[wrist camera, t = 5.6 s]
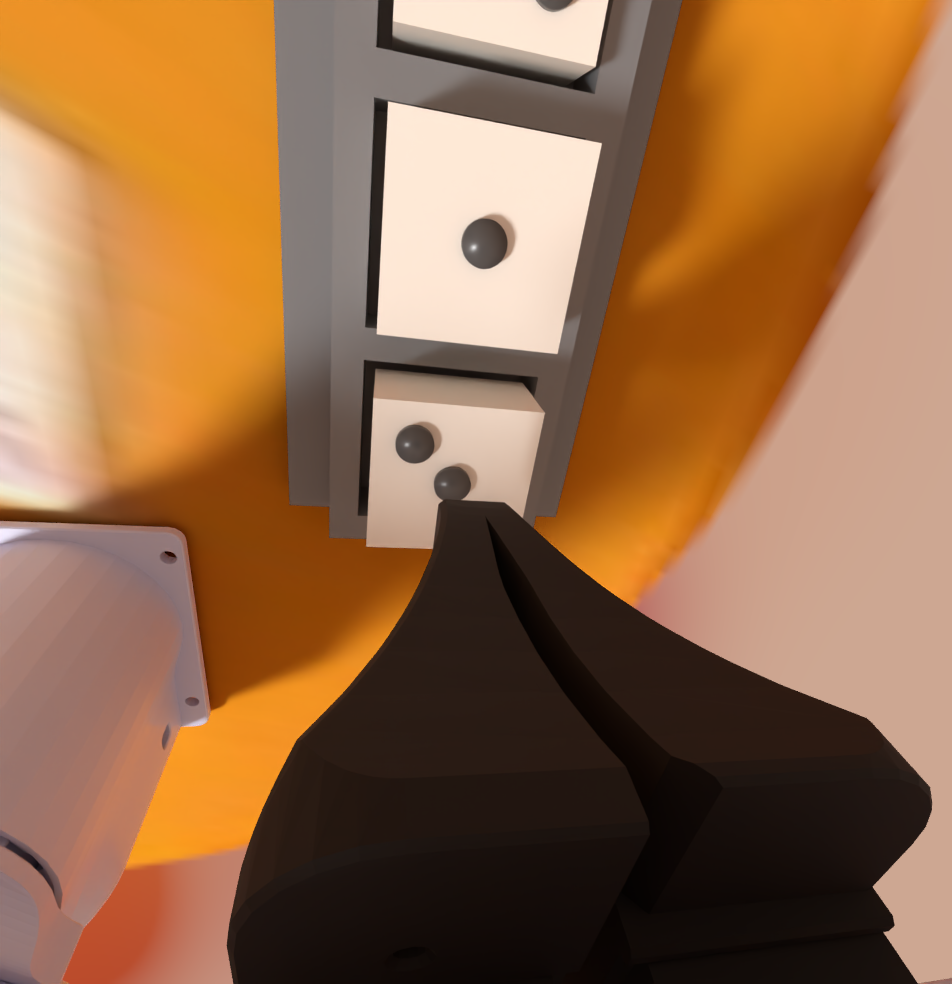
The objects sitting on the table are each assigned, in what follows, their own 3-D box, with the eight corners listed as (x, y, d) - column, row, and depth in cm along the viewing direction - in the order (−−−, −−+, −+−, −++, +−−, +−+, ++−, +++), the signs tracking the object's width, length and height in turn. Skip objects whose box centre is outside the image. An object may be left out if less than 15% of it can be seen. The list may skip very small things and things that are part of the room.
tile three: (499, 507, 16) (517, 555, 14) (369, 500, 16) (366, 551, 13) (522, 382, 14) (547, 415, 12) (375, 368, 14) (373, 400, 11)
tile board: (547, 503, 19) (570, 545, 17) (294, 490, 18) (279, 536, 15) (704, -165, 12) (788, -263, 9) (273, -308, 10) (236, -476, 7)
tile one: (531, 331, 14) (559, 356, 12) (378, 313, 13) (376, 336, 11) (564, 153, 12) (605, 142, 10) (388, 120, 11) (388, 99, 9)
